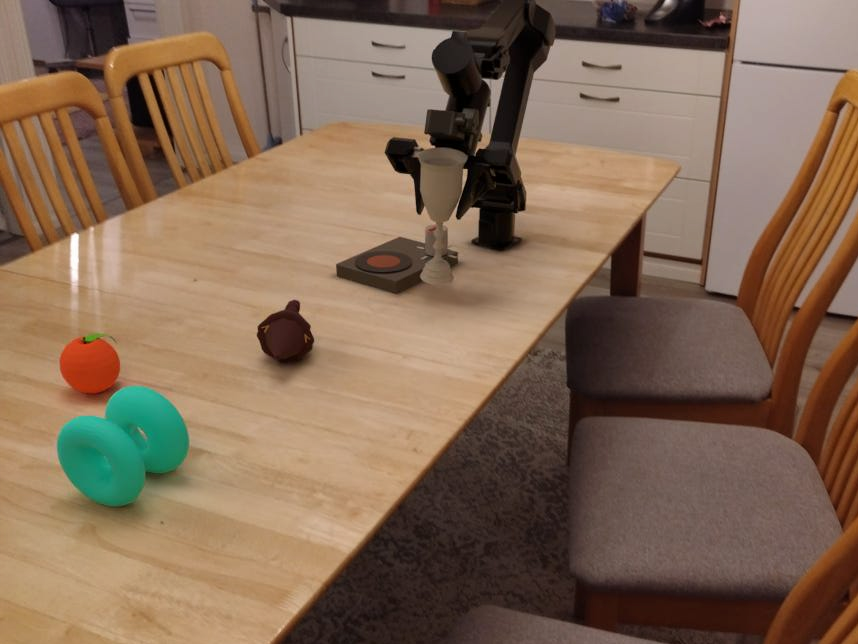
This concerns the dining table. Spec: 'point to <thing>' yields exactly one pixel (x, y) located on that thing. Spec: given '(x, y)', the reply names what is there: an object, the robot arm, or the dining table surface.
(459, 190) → the chalice
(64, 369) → the clementine
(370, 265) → the burner
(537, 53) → the robot arm
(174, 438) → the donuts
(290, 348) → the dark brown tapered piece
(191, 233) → the dining table surface
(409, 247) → the hob
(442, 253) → the hob knob
